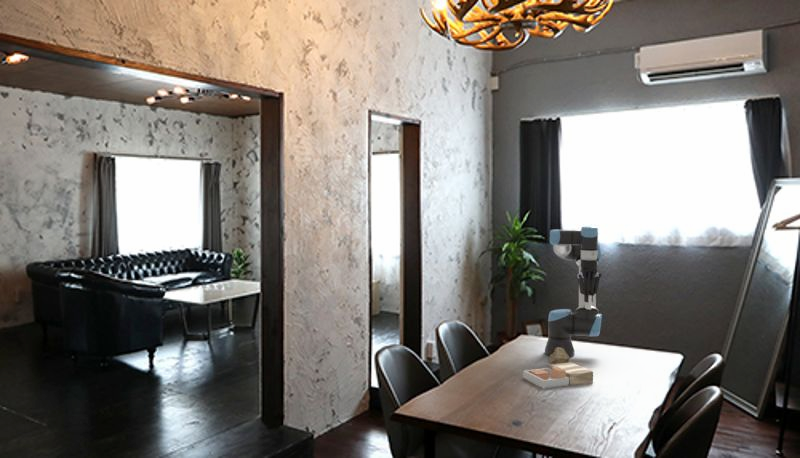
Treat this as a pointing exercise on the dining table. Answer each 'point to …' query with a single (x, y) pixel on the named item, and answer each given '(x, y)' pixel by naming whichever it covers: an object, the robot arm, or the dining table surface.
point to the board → (575, 373)
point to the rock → (558, 356)
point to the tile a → (540, 374)
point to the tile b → (557, 373)
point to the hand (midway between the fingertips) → (588, 308)
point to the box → (545, 383)
